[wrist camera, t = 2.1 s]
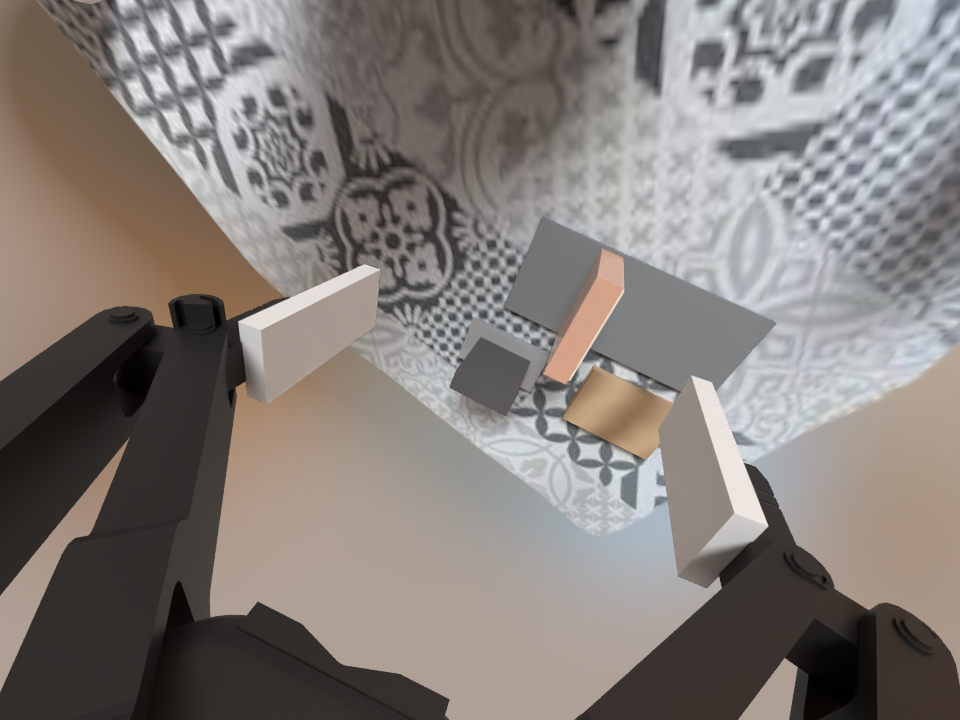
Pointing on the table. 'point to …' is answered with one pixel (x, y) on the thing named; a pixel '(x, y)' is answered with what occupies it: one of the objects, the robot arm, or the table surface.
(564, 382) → the tile
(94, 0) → the decorative container
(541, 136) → the table surface
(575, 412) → the board
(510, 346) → the grout float
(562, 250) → the mat
